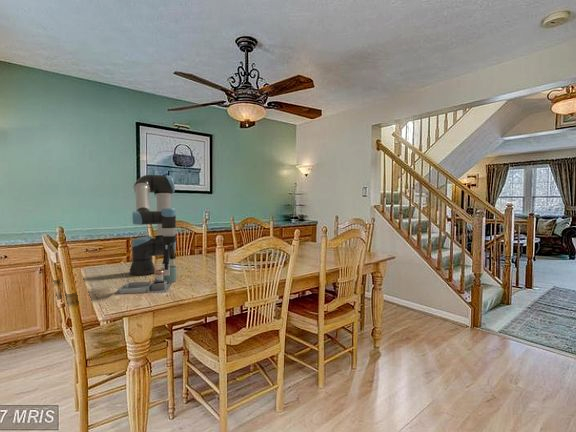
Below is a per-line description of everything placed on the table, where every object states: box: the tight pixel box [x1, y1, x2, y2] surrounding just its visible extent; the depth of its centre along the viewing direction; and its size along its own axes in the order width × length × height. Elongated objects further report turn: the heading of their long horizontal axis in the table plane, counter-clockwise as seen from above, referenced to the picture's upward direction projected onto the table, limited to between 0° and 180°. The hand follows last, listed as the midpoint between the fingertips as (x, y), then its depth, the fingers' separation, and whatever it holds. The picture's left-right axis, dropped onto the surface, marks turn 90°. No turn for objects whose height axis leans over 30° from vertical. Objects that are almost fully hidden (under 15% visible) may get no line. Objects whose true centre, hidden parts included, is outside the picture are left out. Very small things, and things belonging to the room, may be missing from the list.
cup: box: [161, 265, 178, 284], centre depth 180 cm, size 8×8×10 cm
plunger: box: [153, 269, 164, 283], centre depth 166 cm, size 5×5×6 cm
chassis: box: [117, 280, 173, 295], centre depth 166 cm, size 16×23×5 cm
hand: (169, 272), depth 179 cm, fingers open, 13 cm apart
